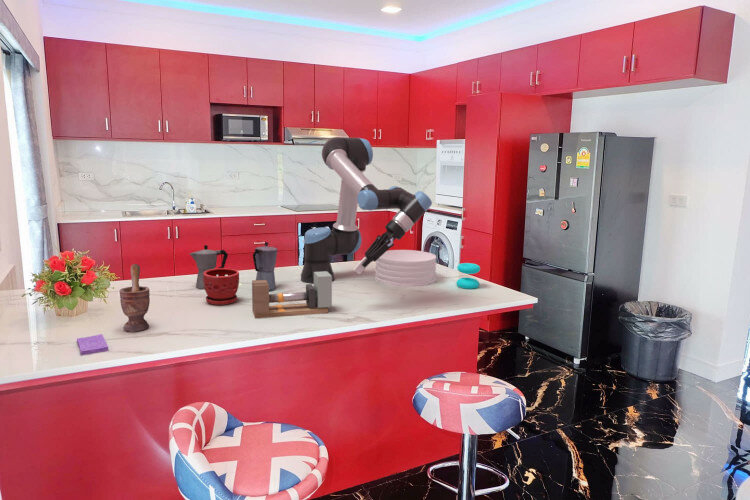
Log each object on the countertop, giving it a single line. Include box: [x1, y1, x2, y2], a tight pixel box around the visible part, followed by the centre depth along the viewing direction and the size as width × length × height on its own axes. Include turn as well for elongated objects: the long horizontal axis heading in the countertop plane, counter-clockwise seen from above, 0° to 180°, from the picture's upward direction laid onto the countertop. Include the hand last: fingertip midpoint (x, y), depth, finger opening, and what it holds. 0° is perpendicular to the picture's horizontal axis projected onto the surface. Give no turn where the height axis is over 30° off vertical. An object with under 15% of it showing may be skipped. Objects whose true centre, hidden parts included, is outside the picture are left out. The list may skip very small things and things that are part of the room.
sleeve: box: [313, 271, 333, 308], centre depth 191 cm, size 8×5×12 cm, turn 18°
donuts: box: [456, 262, 481, 290], centre depth 231 cm, size 10×10×10 cm
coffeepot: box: [189, 244, 229, 290], centre depth 220 cm, size 15×9×18 cm, turn 113°
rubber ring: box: [305, 283, 315, 308], centre depth 190 cm, size 7×2×7 cm, turn 18°
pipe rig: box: [251, 279, 329, 319], centre depth 188 cm, size 9×26×12 cm, turn 108°
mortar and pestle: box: [119, 263, 151, 333], centre depth 167 cm, size 12×9×20 cm
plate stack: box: [374, 249, 437, 287], centre depth 242 cm, size 28×28×12 cm
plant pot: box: [203, 267, 240, 306], centre depth 198 cm, size 13×13×12 cm
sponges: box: [76, 333, 109, 356], centre depth 152 cm, size 7×13×2 cm, turn 35°
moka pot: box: [252, 241, 279, 292], centre depth 217 cm, size 10×15×20 cm, turn 161°
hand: (356, 272), depth 193 cm, fingers closed
